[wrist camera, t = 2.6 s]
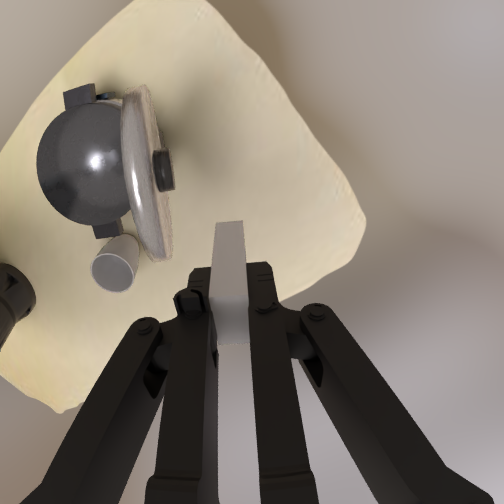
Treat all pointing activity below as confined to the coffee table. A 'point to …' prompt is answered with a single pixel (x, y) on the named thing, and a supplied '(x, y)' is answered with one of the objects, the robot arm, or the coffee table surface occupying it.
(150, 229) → the lid
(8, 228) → the coffee table surface
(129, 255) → the cup
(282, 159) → the coffee table surface
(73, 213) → the cooker
